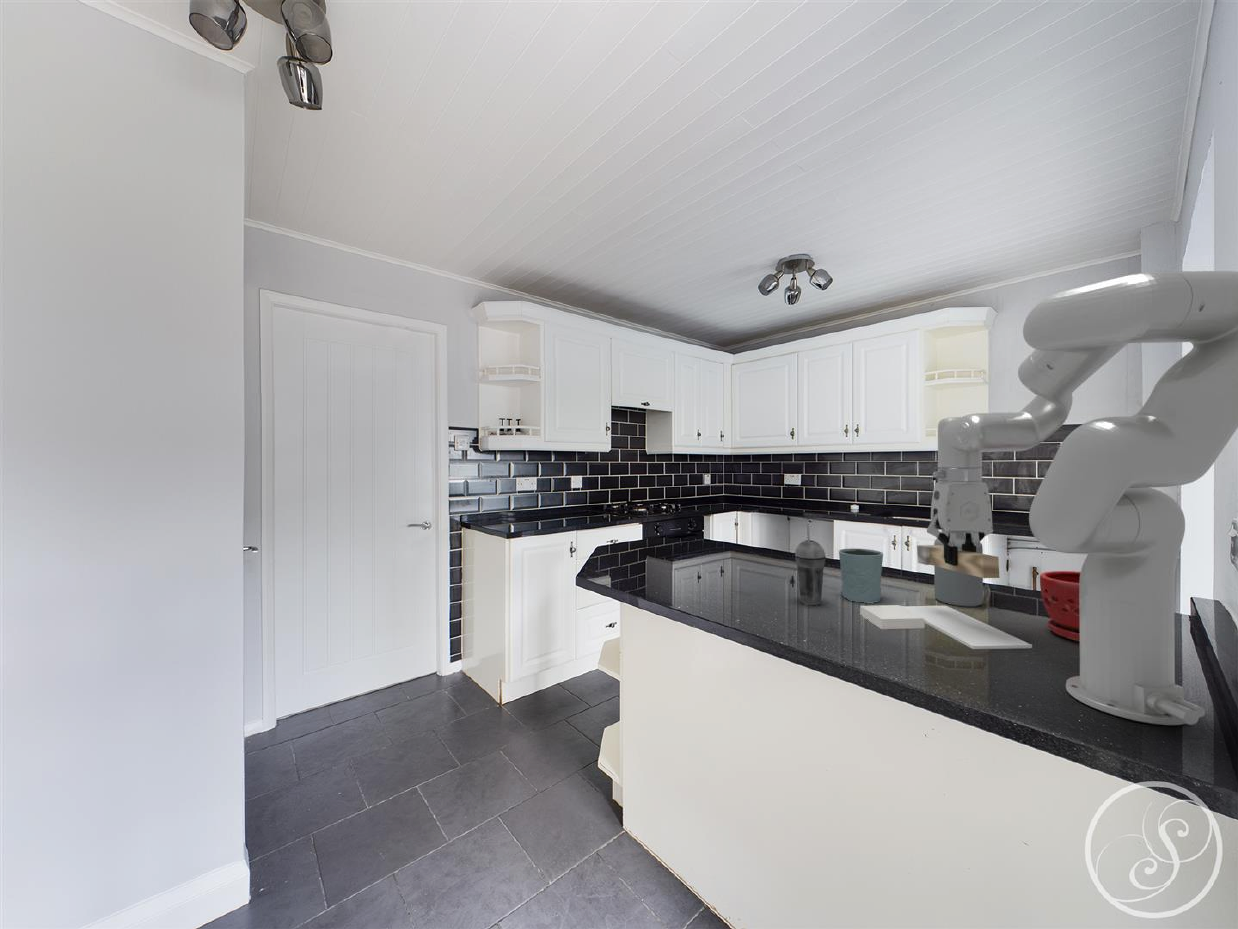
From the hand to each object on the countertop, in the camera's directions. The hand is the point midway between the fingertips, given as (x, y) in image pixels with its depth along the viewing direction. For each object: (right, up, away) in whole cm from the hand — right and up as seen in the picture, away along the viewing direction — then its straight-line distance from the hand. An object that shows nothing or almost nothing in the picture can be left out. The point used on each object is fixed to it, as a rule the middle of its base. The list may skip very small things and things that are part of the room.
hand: (959, 563), depth 101 cm
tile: (-12, -13, 0) cm, 17 cm away
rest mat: (0, -14, +1) cm, 14 cm away
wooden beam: (0, -1, +1) cm, 2 cm away
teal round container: (-10, -14, +22) cm, 28 cm away
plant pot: (+20, -14, -6) cm, 25 cm away
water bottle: (+12, -13, +18) cm, 26 cm away
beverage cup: (-24, -14, +19) cm, 33 cm away
